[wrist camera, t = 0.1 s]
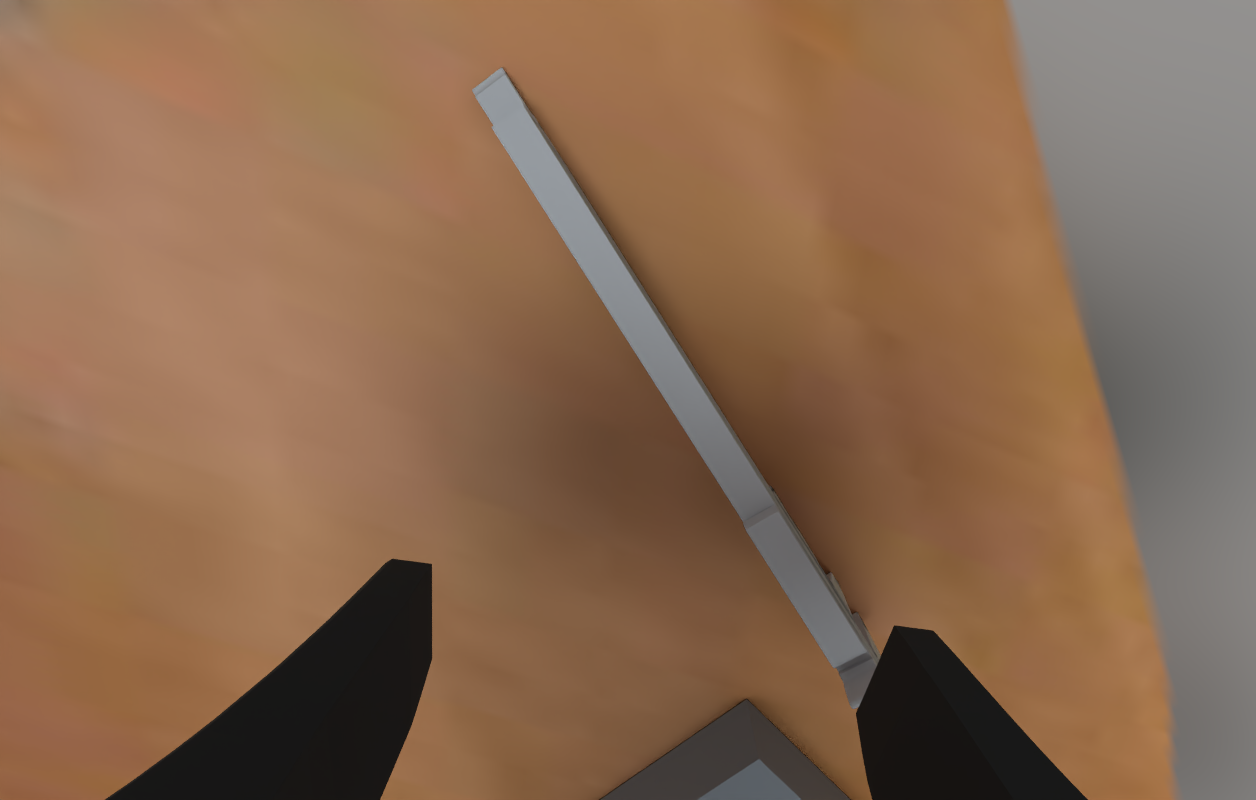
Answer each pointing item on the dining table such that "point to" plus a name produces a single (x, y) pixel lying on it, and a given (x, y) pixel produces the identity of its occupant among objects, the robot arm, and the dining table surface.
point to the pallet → (732, 766)
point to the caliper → (683, 389)
